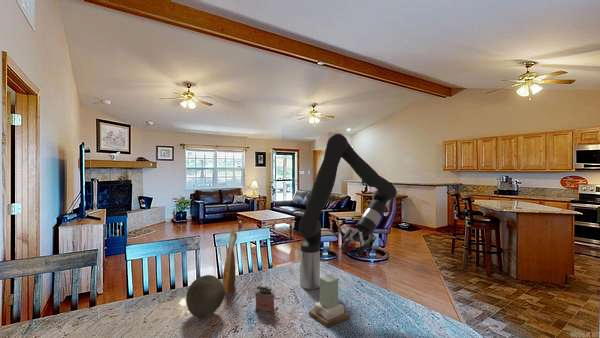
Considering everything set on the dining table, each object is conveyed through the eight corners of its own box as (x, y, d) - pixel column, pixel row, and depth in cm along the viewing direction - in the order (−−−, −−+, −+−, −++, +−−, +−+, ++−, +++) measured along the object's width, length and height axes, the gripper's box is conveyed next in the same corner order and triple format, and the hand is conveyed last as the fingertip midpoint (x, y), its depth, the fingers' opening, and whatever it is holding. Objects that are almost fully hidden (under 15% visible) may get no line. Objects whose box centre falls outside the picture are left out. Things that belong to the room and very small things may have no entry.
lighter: (275, 311, 114) (275, 286, 114) (272, 315, 111) (272, 289, 111) (257, 308, 117) (257, 283, 117) (253, 311, 114) (253, 286, 114)
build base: (308, 314, 111) (308, 303, 111) (330, 306, 118) (330, 295, 118) (327, 327, 102) (327, 314, 102) (349, 317, 109) (349, 306, 109)
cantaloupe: (188, 329, 102) (188, 286, 102) (184, 311, 114) (184, 274, 114) (228, 319, 108) (228, 279, 108) (220, 303, 121) (220, 268, 121)
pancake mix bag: (237, 279, 148) (236, 224, 148) (237, 294, 130) (236, 232, 130) (223, 280, 147) (223, 225, 147) (221, 296, 128) (221, 233, 128)
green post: (319, 303, 111) (319, 277, 111) (329, 300, 114) (329, 275, 114) (328, 308, 107) (328, 282, 107) (338, 305, 110) (338, 279, 110)
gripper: (352, 214, 128) (333, 243, 121) (377, 218, 116) (358, 251, 109) (360, 224, 131) (342, 254, 124) (386, 229, 119) (368, 262, 113)
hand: (350, 252), depth 117 cm, fingers open, 8 cm apart
